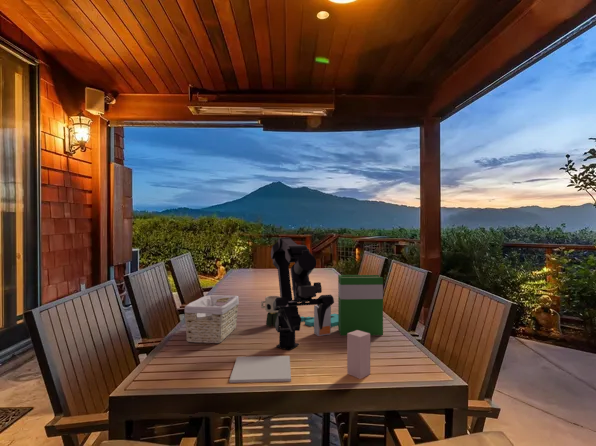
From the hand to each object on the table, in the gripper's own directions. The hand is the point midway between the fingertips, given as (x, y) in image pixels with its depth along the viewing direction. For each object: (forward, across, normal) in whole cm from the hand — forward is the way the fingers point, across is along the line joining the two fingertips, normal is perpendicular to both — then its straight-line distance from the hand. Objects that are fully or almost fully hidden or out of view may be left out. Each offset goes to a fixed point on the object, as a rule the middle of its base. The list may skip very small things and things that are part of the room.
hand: (306, 330), depth 108 cm
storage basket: (-10, -27, +50) cm, 57 cm away
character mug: (-13, 0, +55) cm, 57 cm away
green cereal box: (-4, +34, +38) cm, 51 cm away
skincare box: (-5, +18, +40) cm, 44 cm away
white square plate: (+9, -13, +14) cm, 20 cm away
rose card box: (+14, +16, +4) cm, 21 cm away
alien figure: (-13, +24, +57) cm, 63 cm away
